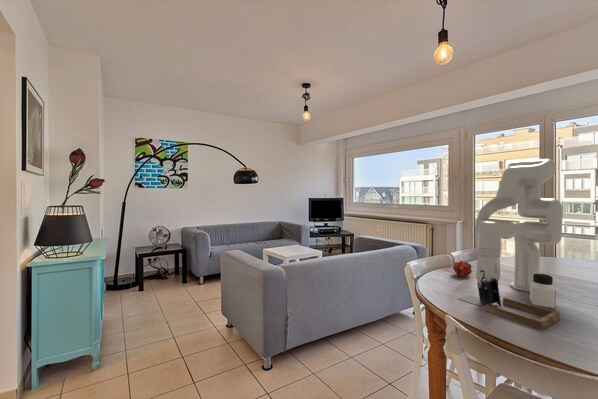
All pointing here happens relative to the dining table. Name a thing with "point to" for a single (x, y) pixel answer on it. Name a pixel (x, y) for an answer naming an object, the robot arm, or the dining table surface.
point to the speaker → (492, 293)
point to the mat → (472, 300)
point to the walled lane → (537, 323)
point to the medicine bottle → (542, 291)
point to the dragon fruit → (462, 268)
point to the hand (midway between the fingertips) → (488, 296)
